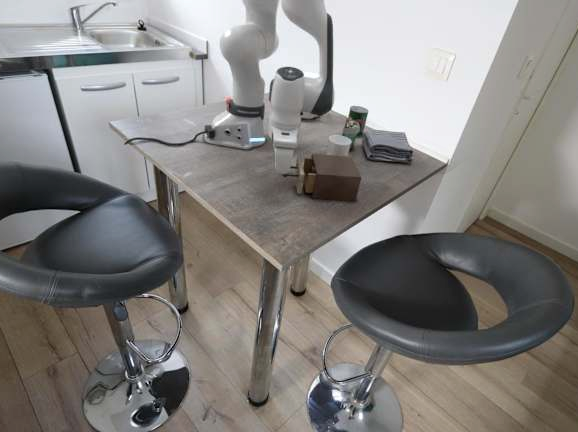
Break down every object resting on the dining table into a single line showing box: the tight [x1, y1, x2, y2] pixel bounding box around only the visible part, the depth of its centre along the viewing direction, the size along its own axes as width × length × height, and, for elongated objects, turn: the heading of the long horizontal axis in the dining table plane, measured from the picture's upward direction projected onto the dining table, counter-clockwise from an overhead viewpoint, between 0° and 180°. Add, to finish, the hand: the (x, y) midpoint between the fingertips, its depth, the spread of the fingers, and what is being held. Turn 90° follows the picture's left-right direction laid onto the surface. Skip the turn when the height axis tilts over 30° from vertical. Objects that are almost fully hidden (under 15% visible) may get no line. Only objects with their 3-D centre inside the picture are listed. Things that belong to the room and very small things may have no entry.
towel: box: [361, 129, 414, 164], centre depth 137 cm, size 15×18×8 cm
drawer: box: [282, 155, 317, 195], centre depth 109 cm, size 17×12×7 cm
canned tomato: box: [347, 105, 369, 138], centre depth 150 cm, size 8×8×11 cm
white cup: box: [326, 134, 351, 157], centre depth 123 cm, size 8×8×10 cm
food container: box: [341, 117, 360, 152], centre depth 137 cm, size 12×6×10 cm, turn 168°
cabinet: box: [310, 153, 362, 202], centre depth 110 cm, size 13×13×8 cm
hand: (279, 172), depth 107 cm, fingers closed
